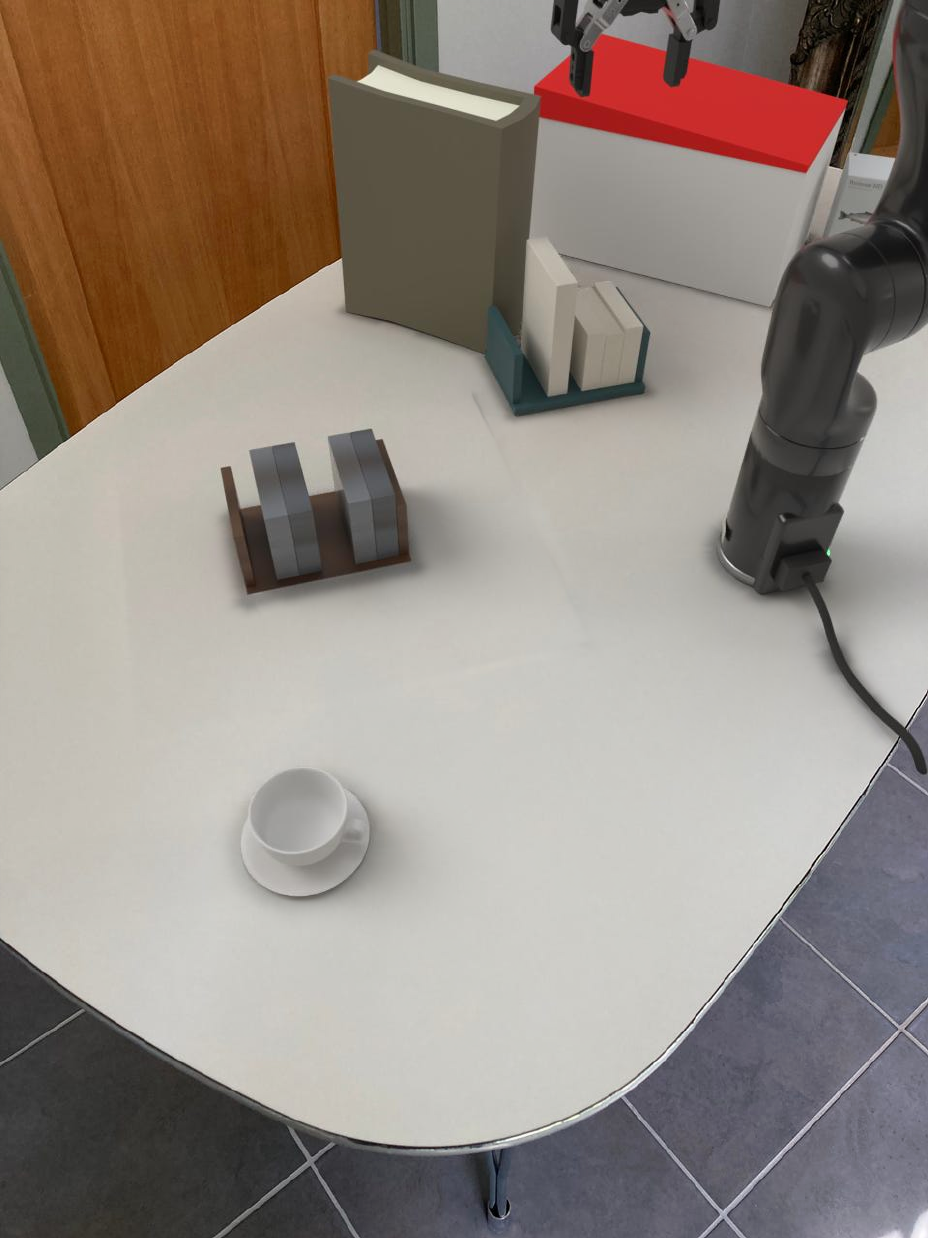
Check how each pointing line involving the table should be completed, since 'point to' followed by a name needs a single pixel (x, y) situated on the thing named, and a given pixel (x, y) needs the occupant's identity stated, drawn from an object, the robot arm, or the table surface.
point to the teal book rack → (576, 354)
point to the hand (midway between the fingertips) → (626, 88)
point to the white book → (548, 315)
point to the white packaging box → (858, 192)
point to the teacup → (303, 832)
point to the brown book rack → (319, 515)
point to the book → (433, 197)
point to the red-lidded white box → (681, 170)
